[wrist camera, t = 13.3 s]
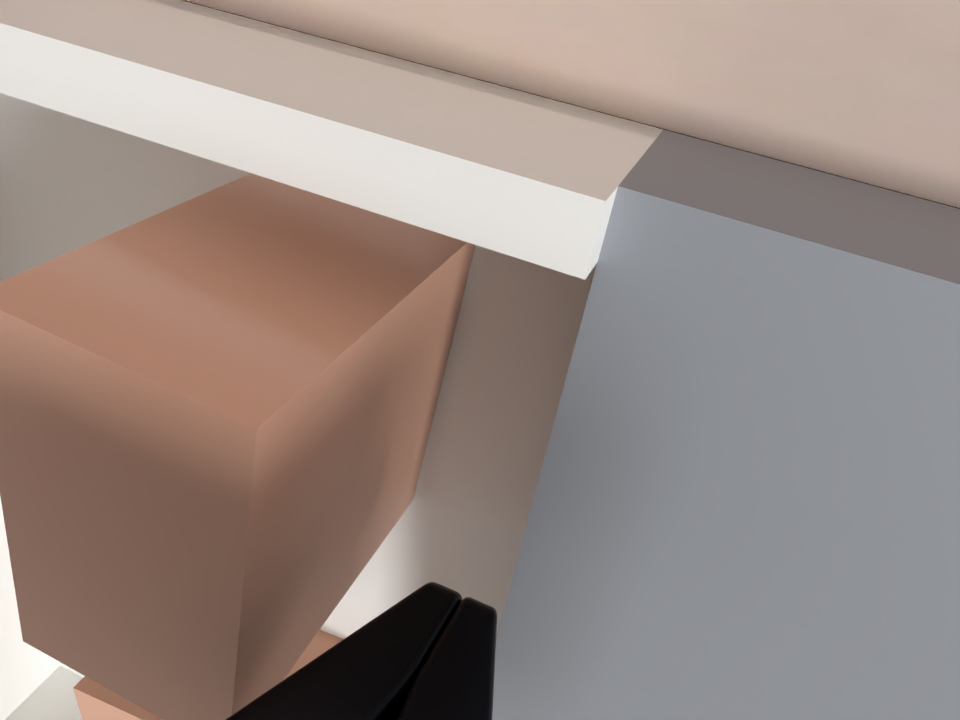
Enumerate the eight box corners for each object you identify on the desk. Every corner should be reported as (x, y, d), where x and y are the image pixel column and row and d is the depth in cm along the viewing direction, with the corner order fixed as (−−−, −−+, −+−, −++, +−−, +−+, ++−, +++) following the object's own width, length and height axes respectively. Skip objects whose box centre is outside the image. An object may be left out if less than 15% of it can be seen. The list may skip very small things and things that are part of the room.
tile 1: (227, 756, 9) (22, 641, 10) (413, 499, 13) (261, 429, 14) (256, 428, 6) (-32, 295, 7) (478, 232, 11) (285, 158, 11)
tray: (449, 862, 19) (393, 1000, 17) (54, 658, 22) (-43, 751, 19) (662, 129, 10) (605, 200, 7) (-88, -72, 12) (-318, -71, 10)
